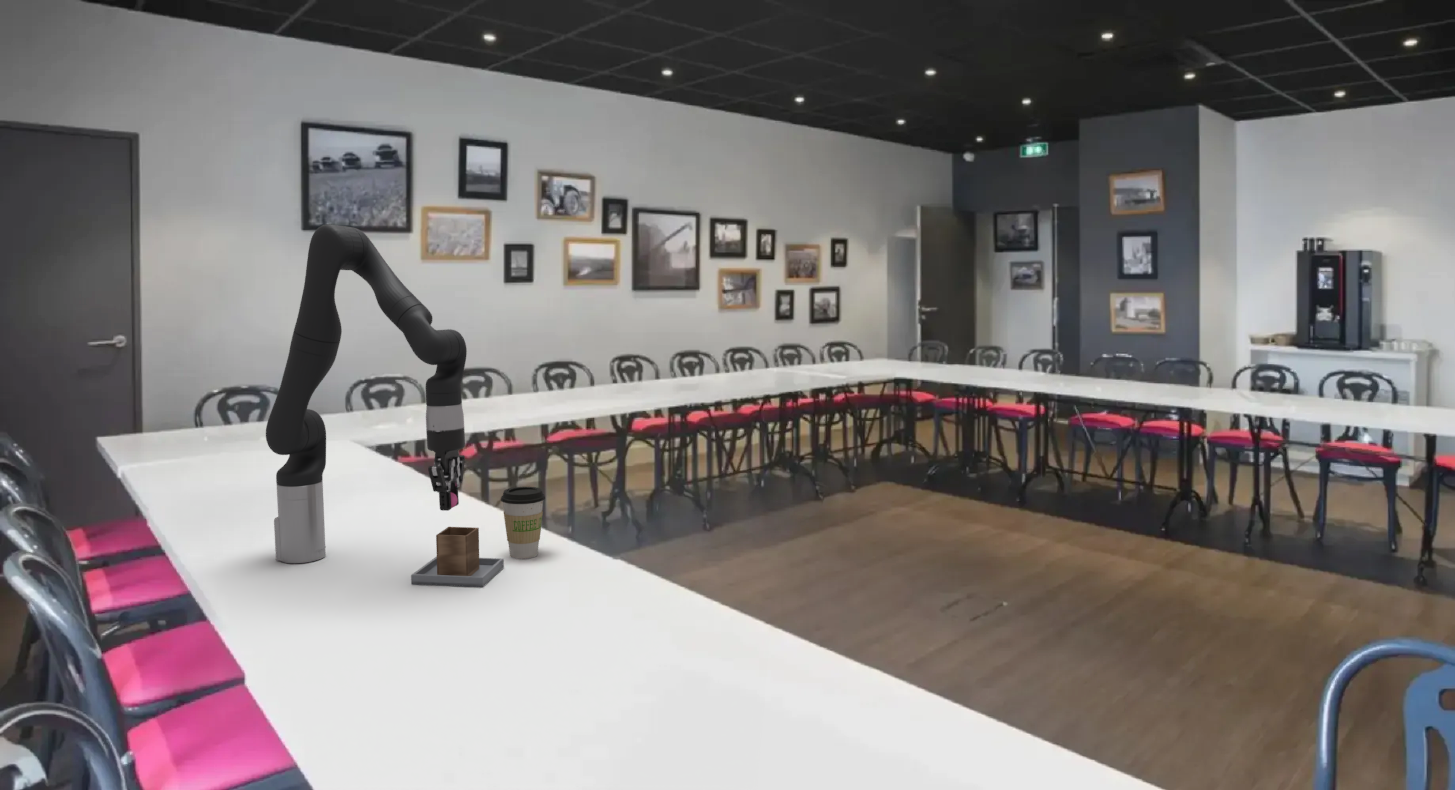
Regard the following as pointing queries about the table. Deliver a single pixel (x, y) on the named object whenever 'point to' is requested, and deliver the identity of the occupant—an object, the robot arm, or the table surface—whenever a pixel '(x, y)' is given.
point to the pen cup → (458, 551)
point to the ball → (453, 500)
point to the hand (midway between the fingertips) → (449, 507)
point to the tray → (478, 579)
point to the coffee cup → (523, 520)
